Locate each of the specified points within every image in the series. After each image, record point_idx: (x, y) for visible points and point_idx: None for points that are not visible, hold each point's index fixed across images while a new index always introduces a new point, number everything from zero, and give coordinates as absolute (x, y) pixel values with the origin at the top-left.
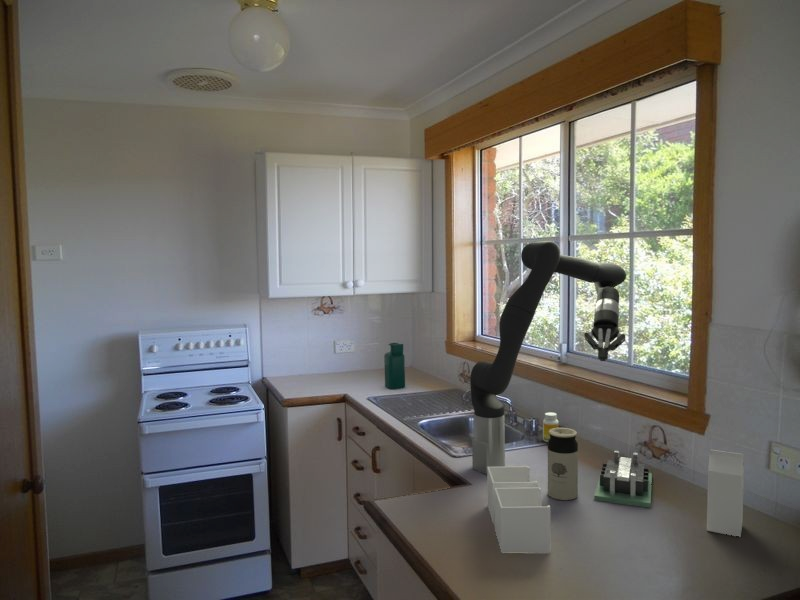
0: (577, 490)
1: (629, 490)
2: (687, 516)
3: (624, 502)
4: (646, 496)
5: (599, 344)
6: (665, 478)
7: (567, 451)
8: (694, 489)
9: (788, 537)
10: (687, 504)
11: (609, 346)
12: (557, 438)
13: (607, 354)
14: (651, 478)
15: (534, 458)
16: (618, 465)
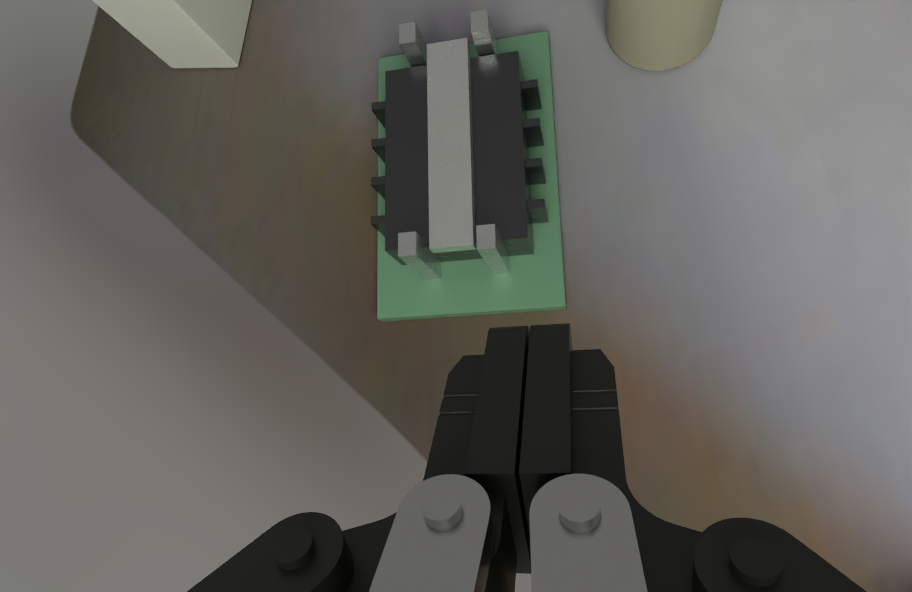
0: (606, 17)
1: None
2: (290, 59)
3: None
4: None
5: (615, 550)
6: (338, 330)
7: None
8: (256, 266)
9: (92, 58)
10: (284, 139)
11: (379, 550)
12: None
13: (446, 391)
14: (378, 264)
15: (905, 352)
16: (479, 189)
